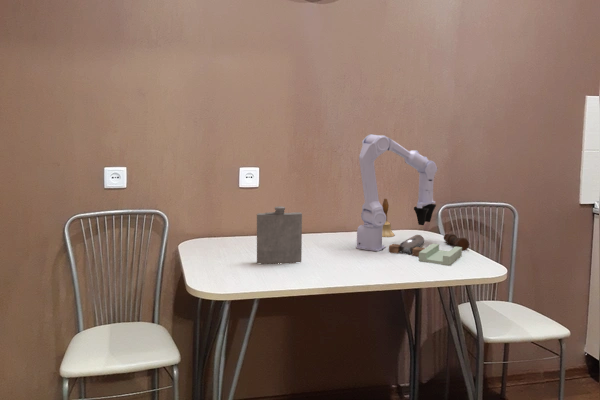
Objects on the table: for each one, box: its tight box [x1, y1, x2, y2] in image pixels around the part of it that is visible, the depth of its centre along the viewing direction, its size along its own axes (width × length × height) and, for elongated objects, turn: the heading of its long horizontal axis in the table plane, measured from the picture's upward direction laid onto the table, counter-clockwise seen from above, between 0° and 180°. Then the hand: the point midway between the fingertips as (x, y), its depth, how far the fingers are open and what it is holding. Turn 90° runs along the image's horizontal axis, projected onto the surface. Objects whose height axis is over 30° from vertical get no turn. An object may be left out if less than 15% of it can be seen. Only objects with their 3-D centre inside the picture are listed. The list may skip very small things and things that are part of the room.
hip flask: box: [256, 205, 303, 265], centre depth 200 cm, size 16×4×20 cm, turn 101°
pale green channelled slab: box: [418, 243, 463, 266], centre depth 210 cm, size 11×16×3 cm
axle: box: [399, 234, 425, 255], centre depth 221 cm, size 14×5×5 cm, turn 150°
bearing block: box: [388, 243, 426, 257], centre depth 216 cm, size 13×4×2 cm, turn 60°
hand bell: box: [381, 198, 395, 238], centre depth 246 cm, size 8×8×16 cm
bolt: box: [443, 233, 470, 252], centre depth 229 cm, size 6×5×15 cm
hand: (424, 223), depth 231 cm, fingers open, 7 cm apart
